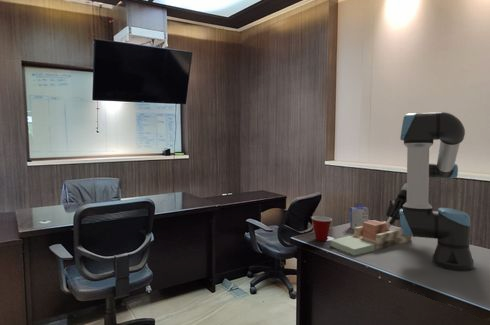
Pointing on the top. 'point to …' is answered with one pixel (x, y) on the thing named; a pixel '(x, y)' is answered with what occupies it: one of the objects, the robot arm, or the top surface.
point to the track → (383, 237)
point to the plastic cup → (321, 227)
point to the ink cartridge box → (358, 216)
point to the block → (373, 229)
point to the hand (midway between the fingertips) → (385, 228)
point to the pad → (352, 245)
